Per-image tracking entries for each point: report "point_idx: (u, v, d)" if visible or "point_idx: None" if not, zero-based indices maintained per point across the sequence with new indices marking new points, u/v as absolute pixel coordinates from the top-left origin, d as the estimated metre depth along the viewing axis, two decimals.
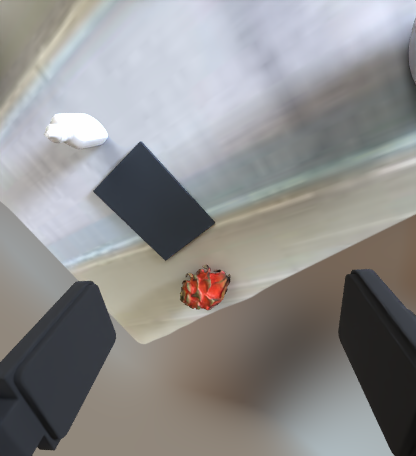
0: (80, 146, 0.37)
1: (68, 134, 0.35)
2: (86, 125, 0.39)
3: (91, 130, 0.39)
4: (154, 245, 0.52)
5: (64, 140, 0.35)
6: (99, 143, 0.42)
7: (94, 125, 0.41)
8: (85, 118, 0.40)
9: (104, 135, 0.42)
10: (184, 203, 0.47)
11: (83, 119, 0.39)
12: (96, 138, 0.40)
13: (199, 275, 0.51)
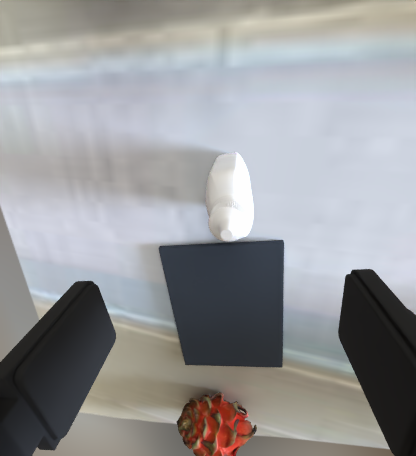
0: None
1: None
2: None
3: None
4: (187, 345, 0.35)
5: None
6: None
7: None
8: None
9: None
10: (268, 332, 0.32)
11: (249, 183, 0.21)
12: None
13: (219, 408, 0.37)
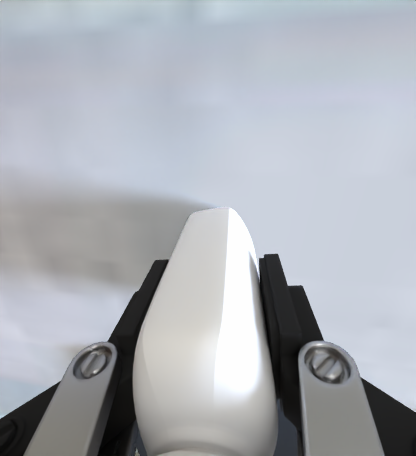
0: None
1: None
2: None
3: None
4: None
5: None
6: None
7: None
8: (257, 275, 0.10)
9: None
10: None
11: (260, 297, 0.09)
12: None
13: None
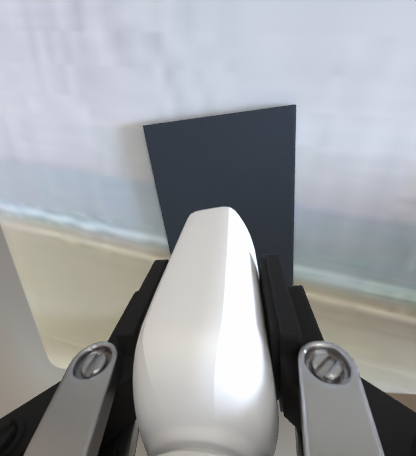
0: None
1: None
2: None
3: None
4: None
5: None
6: None
7: None
8: (257, 275, 0.09)
9: None
10: (276, 240, 0.27)
11: (260, 297, 0.09)
12: None
13: None
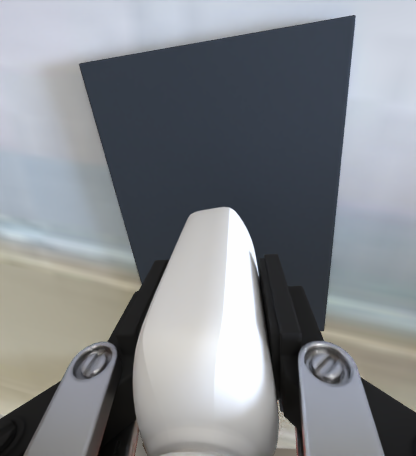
0: None
1: None
2: None
3: None
4: None
5: None
6: None
7: None
8: (257, 275, 0.09)
9: None
10: (304, 260, 0.17)
11: (260, 297, 0.09)
12: None
13: None
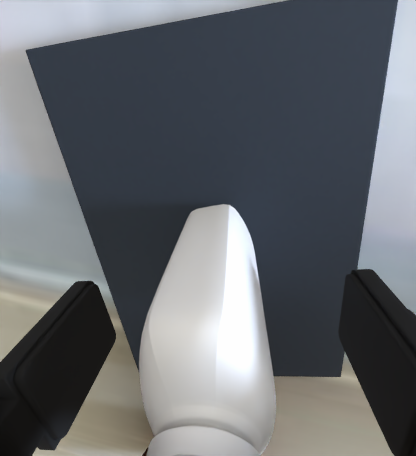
0: None
1: None
2: None
3: None
4: (138, 334, 0.16)
5: None
6: None
7: None
8: (256, 269, 0.10)
9: None
10: (319, 297, 0.14)
11: (259, 290, 0.09)
12: None
13: None
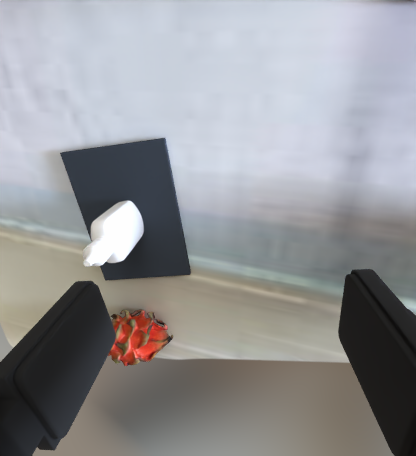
0: (113, 262, 0.29)
1: (109, 255, 0.27)
2: (131, 234, 0.31)
3: (133, 240, 0.31)
4: None
5: None
6: None
7: (137, 229, 0.33)
8: (132, 220, 0.32)
9: None
10: (170, 236, 0.36)
11: (130, 224, 0.31)
12: None
13: (137, 319, 0.40)
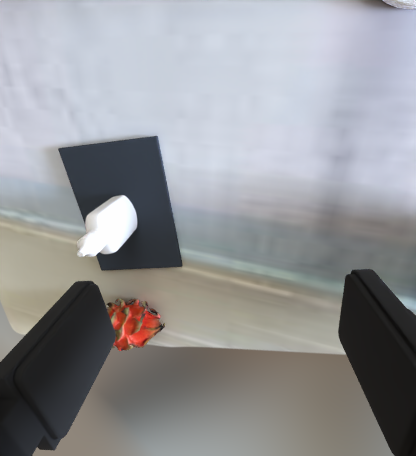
0: (106, 253, 0.31)
1: (102, 247, 0.29)
2: (124, 227, 0.33)
3: (126, 233, 0.33)
4: None
5: None
6: None
7: (130, 222, 0.34)
8: (126, 213, 0.34)
9: (133, 231, 0.36)
10: (163, 229, 0.37)
11: (123, 218, 0.33)
12: None
13: (131, 308, 0.42)
